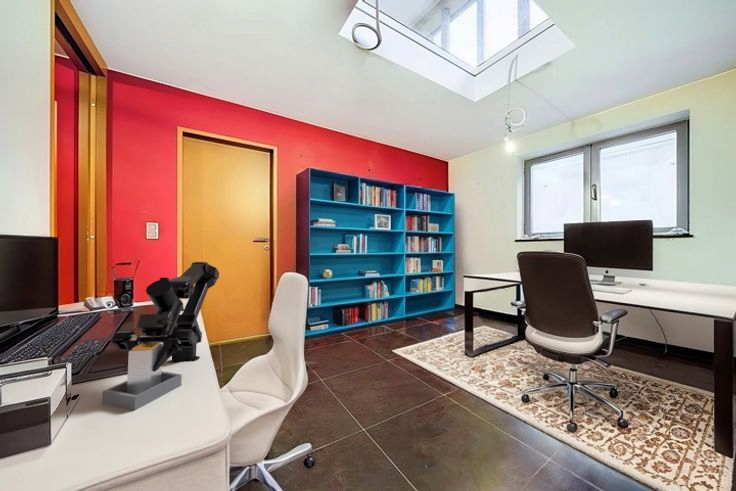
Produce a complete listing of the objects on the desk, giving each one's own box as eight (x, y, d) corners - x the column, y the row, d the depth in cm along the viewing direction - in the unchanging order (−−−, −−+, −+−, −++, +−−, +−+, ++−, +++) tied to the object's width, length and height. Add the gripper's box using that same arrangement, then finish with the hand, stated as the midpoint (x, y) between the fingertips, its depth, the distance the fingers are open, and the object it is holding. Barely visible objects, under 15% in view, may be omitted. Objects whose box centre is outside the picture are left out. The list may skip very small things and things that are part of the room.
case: (152, 383, 77) (152, 369, 77) (181, 389, 75) (181, 374, 75) (102, 407, 65) (102, 391, 65) (134, 414, 63) (135, 397, 63)
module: (139, 389, 72) (141, 341, 72) (160, 388, 73) (162, 341, 73) (126, 400, 67) (128, 348, 67) (149, 398, 68) (151, 347, 68)
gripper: (116, 301, 72) (80, 359, 61) (194, 300, 76) (173, 355, 65) (134, 322, 80) (104, 378, 69) (204, 321, 84) (186, 373, 73)
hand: (142, 371), depth 69 cm, fingers closed on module, 5 cm apart
